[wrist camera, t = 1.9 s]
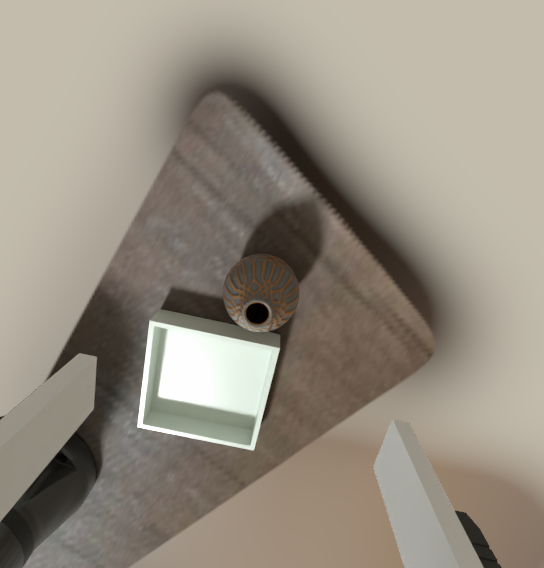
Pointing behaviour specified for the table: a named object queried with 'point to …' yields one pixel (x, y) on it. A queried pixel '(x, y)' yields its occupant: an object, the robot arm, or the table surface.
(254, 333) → the tray
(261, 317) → the vase
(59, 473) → the robot arm
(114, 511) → the table surface
